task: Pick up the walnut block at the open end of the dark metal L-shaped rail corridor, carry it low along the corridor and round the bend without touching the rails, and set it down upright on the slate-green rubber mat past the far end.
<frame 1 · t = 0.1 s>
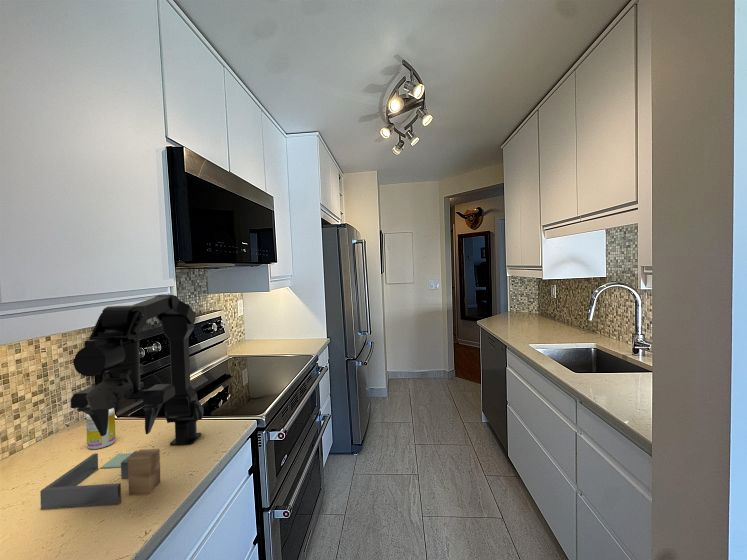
hand: (125, 434, 76), 14 cm above the countertop, tool pointing down, fingers open, 9 cm apart
walnut block: (145, 488, 80), on the countertop
bent rails: (87, 491, 79), on the countertop
supplement bottle: (101, 445, 102), on the countertop
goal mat: (125, 460, 93), on the countertop
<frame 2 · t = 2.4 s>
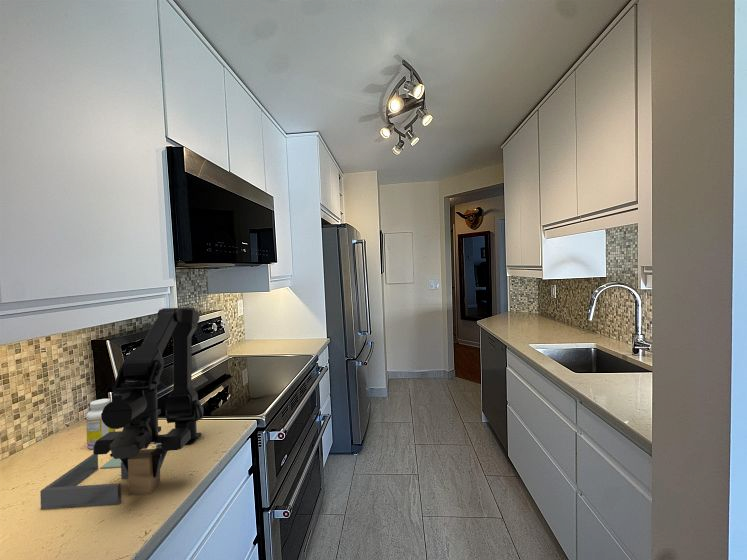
hand: (144, 477, 80), 3 cm above the countertop, tool pointing down, fingers closed on walnut block, 4 cm apart
walnut block: (145, 488, 80), on the countertop, touching gripper
everything else where it was.
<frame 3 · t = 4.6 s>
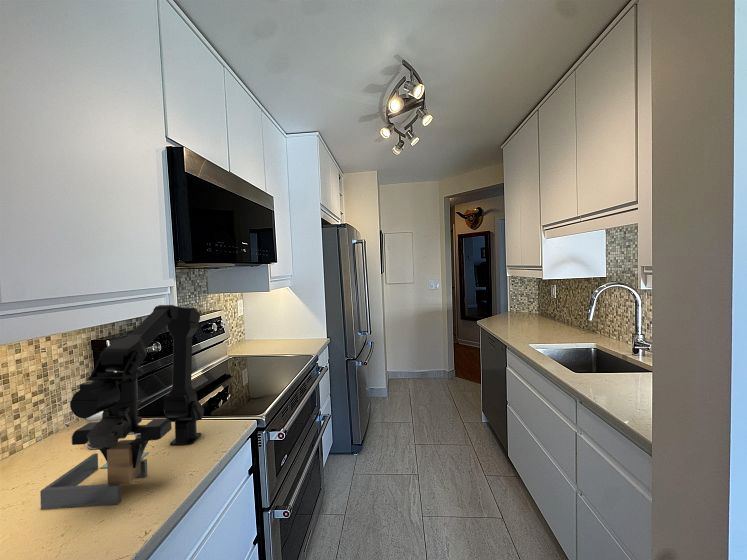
hand: (124, 467, 80), 5 cm above the countertop, tool pointing down, fingers closed on walnut block, 4 cm apart
walnut block: (124, 478, 80), point 2 cm above the countertop, touching gripper
everything else where it was.
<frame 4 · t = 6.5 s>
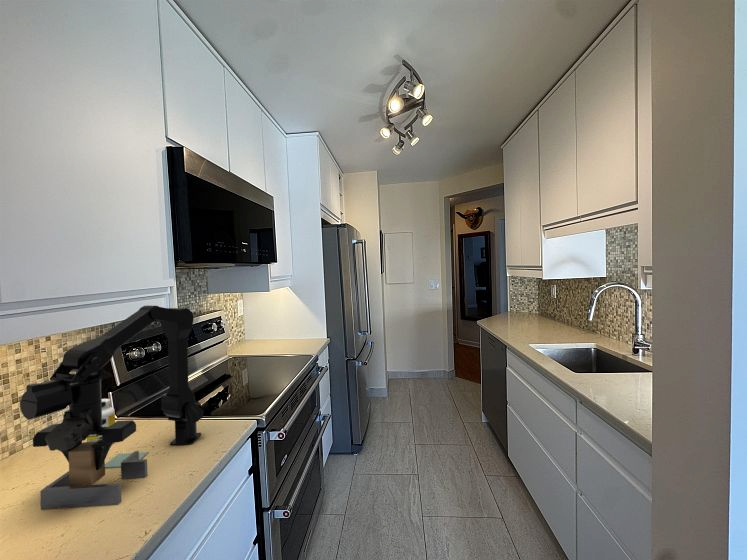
hand: (87, 470, 79), 5 cm above the countertop, tool pointing down, fingers closed on walnut block, 4 cm apart
walnut block: (87, 481, 79), point 2 cm above the countertop, touching gripper
everything else where it was.
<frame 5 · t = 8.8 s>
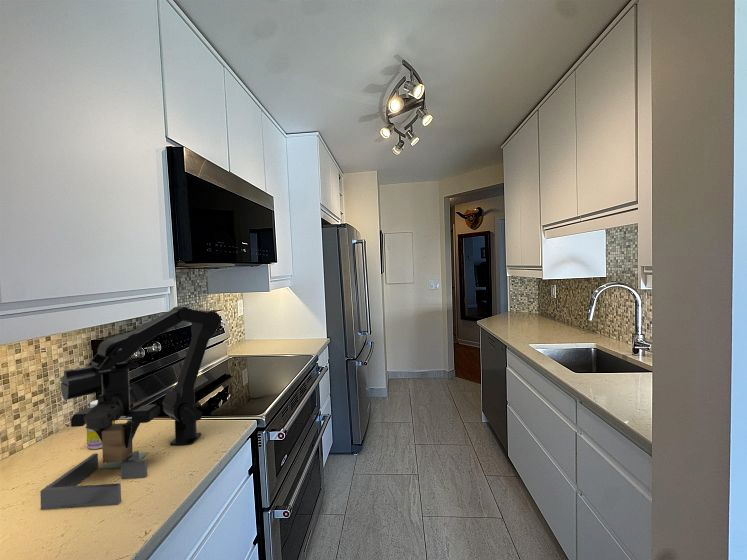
hand: (117, 447, 90), 5 cm above the countertop, tool pointing down, fingers closed on walnut block, 4 cm apart
walnut block: (118, 457, 90), point 2 cm above the countertop, touching gripper
everything else where it was.
when the fingers open (4 cm above the countertop, at t = 10.9 s): walnut block stays where it is, resting on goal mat.
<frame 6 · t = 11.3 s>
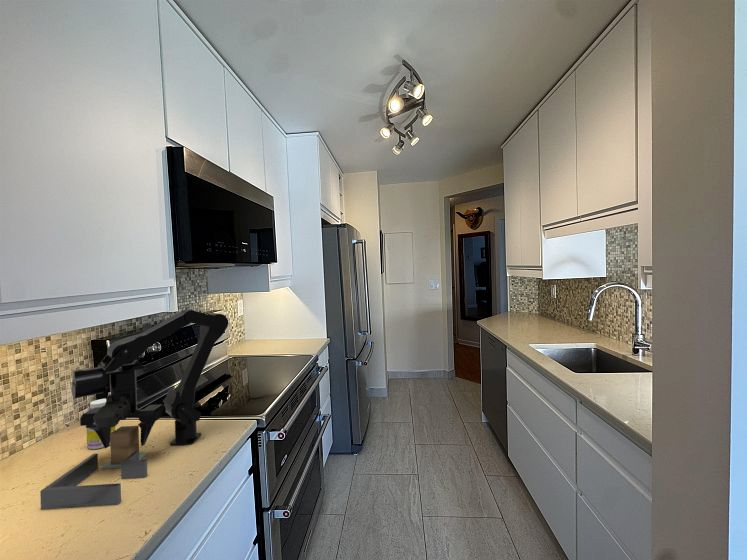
hand: (125, 446, 93), 4 cm above the countertop, tool pointing down, fingers open, 9 cm apart
walnut block: (125, 459, 93), resting on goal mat
everything else where it was.
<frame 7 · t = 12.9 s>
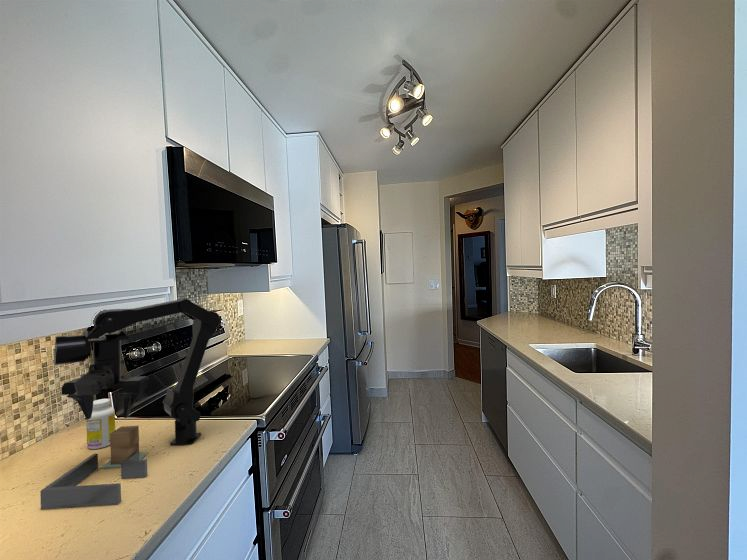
hand: (107, 418, 90), 12 cm above the countertop, tool pointing down, fingers open, 9 cm apart
nothing on the countertop moved.
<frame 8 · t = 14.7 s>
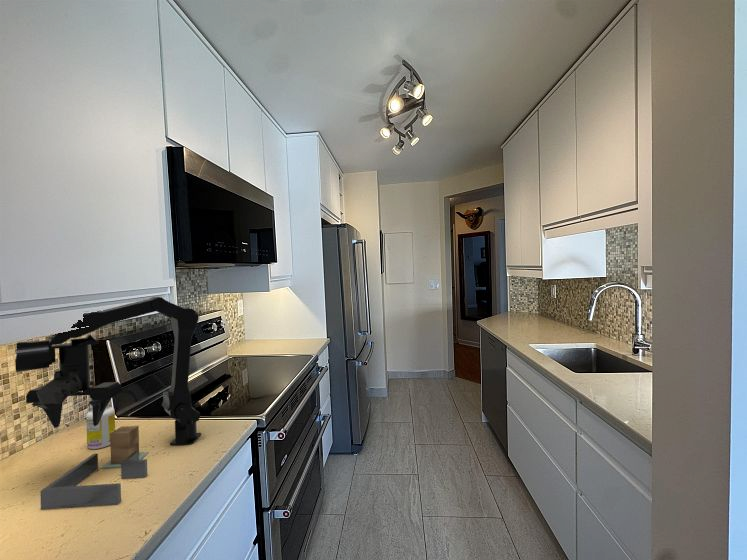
hand: (76, 426, 86), 12 cm above the countertop, tool pointing down, fingers open, 9 cm apart
nothing on the countertop moved.
at the end: walnut block 0.0 cm off-centre on the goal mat, point 0.3 cm above the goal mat's base; walnut block tilted 0°; walnut block touching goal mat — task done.
